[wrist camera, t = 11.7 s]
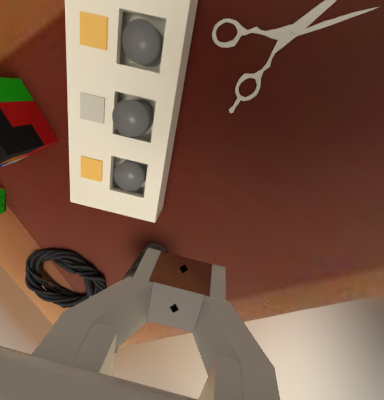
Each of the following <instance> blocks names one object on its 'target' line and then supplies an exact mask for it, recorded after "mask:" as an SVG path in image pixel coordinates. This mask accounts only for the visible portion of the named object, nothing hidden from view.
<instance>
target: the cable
mask: <svg viewBox="0 0 384 400" xmlns="http://www.w3.org/2000/svg"><path fill="white" fill-rule="evenodd" d="M49 260H54V262H55V263H56V264H57V265H59V266H60V267H62V268H63V269H65V270H66V271H67V272H69V273H72V274H74V273H76V274H79V275H80V276H81V277H83V278H84V283H85V287H86V292H87V295H86V296H78V295H76V294H75V293H73V292H71V291H70V290H68V289H66V288H65V289H63V288H60V287H58V286H57V285H55V284H54V283H52V282H49V281H47V280H44V279H43V278H42V276H41V274H40V270H39V265H40V263H42V262H45V261H49ZM36 261H37V262H36ZM35 262H36V263H35ZM92 281H93V282H94V283H95V289H94V290H93V287H92ZM25 282H26V285H27V287H28V288H29V289H30V290H32V291H34V292H35V293H36V294H37V296H38V297H40V298H41V299H43V300H45V301H48V302H53V303H55V304H57V305H60V306H61V307H63V308H66V307H73V306H75V305H77V304H79V303H81V302H82V301H84V300H86V299H88V298H90V297H92V296H93V295H95V294H97V293H99V292H101V291H103V290H104V289H105V284H104V283H105V279H104V278H102V277H100V275H99V274H98V273H97V271H96V270H95V269H94V268H92V267H90V266H89V265H88V264H87V263H86V262H85V261H84V260H83V259H82V258H81V257H80V256H79V255H77V254H75V253H72V252H67V251H63V250H45V251H36V252H33V253H32V254H31V255H29V257H28V258H27V260H26V278H25ZM48 284H51V285H53V286H54V287H51V286H50V285H48ZM42 285H43V286H44V288H45V289H47V290H45V289H44V288H43V287H42Z"/></svg>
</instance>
